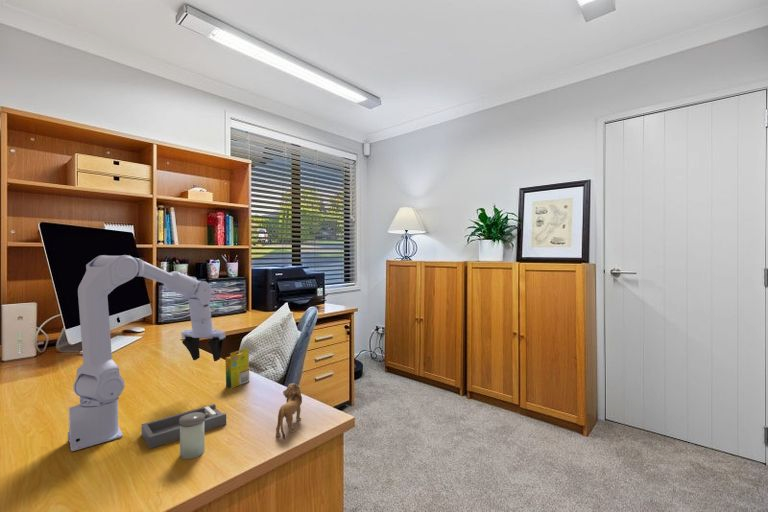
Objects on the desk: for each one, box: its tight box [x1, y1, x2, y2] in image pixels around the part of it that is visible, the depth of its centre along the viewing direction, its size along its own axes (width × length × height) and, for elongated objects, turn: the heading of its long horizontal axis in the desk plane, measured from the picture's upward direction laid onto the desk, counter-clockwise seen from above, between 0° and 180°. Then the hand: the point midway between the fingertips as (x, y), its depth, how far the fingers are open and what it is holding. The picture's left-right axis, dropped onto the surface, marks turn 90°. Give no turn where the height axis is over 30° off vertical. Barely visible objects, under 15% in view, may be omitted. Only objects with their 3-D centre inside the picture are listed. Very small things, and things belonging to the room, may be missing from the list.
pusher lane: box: [141, 403, 227, 450], centre depth 92 cm, size 17×9×3 cm, turn 134°
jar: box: [179, 412, 206, 460], centre depth 81 cm, size 5×5×8 cm
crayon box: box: [224, 347, 250, 389], centre depth 123 cm, size 7×3×12 cm, turn 149°
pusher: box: [203, 405, 216, 418], centre depth 94 cm, size 6×6×2 cm
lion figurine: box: [275, 383, 303, 440], centre depth 93 cm, size 15×5×9 cm, turn 6°
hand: (206, 359), depth 116 cm, fingers open, 7 cm apart
